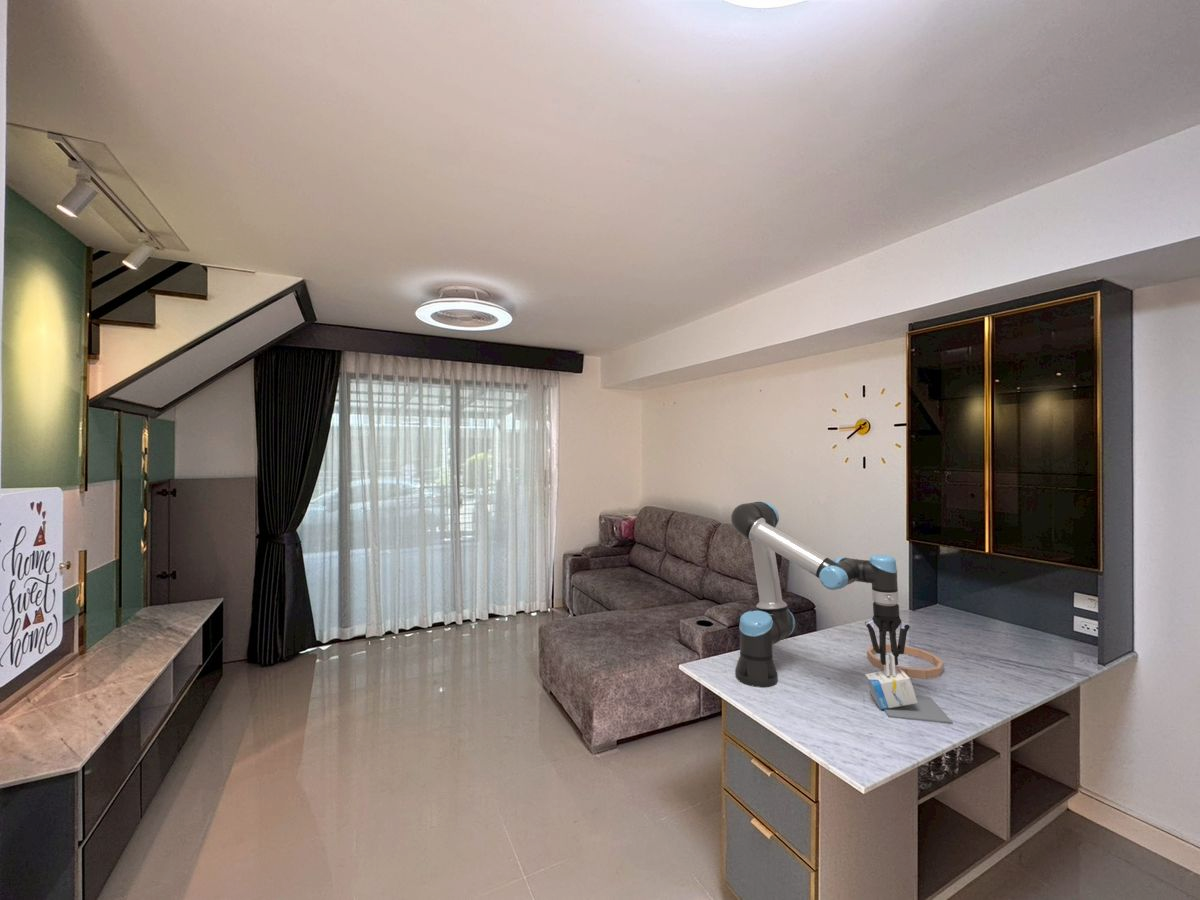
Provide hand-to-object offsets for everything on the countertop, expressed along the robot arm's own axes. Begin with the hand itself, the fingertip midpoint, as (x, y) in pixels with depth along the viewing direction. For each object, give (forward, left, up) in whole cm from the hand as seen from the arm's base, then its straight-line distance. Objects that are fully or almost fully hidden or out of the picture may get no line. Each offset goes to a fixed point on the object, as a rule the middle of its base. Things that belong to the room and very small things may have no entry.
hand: (889, 674), depth 164 cm
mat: (+6, 0, -11) cm, 12 cm away
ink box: (-5, 0, -7) cm, 8 cm away
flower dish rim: (+17, +36, -11) cm, 41 cm away
